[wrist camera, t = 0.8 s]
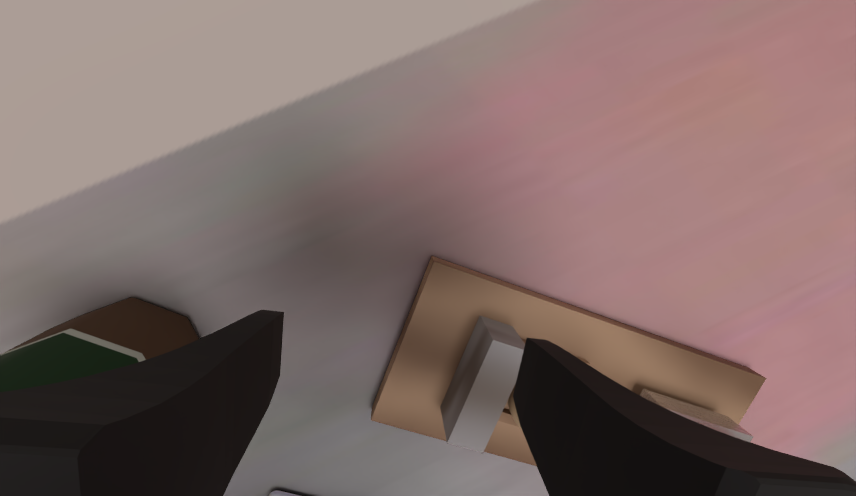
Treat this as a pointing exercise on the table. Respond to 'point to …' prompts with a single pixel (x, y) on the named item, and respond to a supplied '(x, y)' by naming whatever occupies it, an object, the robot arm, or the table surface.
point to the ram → (699, 415)
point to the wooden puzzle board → (502, 353)
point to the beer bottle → (95, 344)
